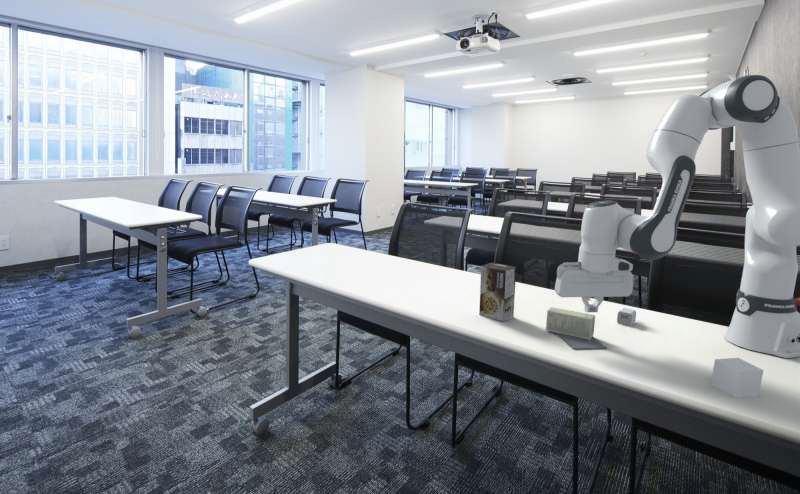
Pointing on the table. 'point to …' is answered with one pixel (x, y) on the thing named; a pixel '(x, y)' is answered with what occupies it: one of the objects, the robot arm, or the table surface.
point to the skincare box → (570, 323)
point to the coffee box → (497, 291)
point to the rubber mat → (581, 342)
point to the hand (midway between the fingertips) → (590, 311)
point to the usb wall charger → (626, 317)
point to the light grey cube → (737, 377)
